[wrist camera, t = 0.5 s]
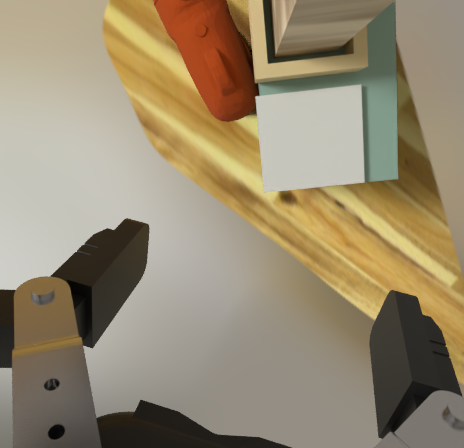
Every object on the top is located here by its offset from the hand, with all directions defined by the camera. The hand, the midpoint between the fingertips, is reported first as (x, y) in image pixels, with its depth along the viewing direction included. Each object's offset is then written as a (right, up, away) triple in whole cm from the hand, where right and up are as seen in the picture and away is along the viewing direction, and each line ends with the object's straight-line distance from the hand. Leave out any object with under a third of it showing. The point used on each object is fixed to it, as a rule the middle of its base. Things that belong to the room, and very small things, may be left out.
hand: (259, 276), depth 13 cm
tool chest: (+5, +13, +24) cm, 28 cm away
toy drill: (-3, +20, +23) cm, 31 cm away
